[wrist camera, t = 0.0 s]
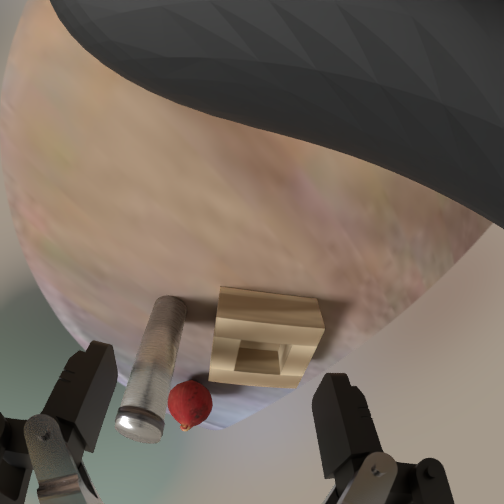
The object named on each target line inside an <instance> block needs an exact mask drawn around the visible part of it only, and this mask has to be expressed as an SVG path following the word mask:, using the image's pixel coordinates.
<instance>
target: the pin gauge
mask: <svg viewBox="0 0 504 504" xmlns="http://www.w3.org/2000/svg"><path fill="white" fill-rule="evenodd" d="M186 314H187V308H186V306H185V304H184V303H183V302H182V301H181V300H180V299H178V298H176V297H173V296H162V297H160V298H158V299H157V300H156V302H155V304H154V307H153V310H152V312H151V315H150V318H149V321H148V323H147V326H146V329H145V332H144V335H143V338H142V340H141V343H140V346H139V349H138V352H137V355H136V358H135V361H134V364H133V367H132V370H131V374H130V377H129V380H128V383H127V386H126V390H125V393H124V396H123V400H122V403H121V406H120V408H119V409H118V412H117V415H116V419H115V423H116V424H115V429H116V430H117V431H118V432H119V433H120V434H122V435H123V436H125V437H127V438H130V439H132V440H135V441H138V442H142V443H158V442H159V441H160V439H161V437H162V435H163V430H164V424H165V423H164V417H165V412H166V407H167V401H168V396H169V391H170V386H171V381H172V377H173V372H174V367H175V362H176V358H177V353H178V349H179V344H180V340H181V335H182V331H183V326H184V322H185V318H186Z"/></svg>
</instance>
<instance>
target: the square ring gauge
mask: <svg viewBox="0 0 504 504" xmlns="http://www.w3.org/2000/svg"><path fill="white" fill-rule="evenodd" d="M324 331H325V326H324V322H323V319H322V315H321V312H320V308H319V305H318V301H317V299H316V298H307V297H298V296H290V295H281V294H273V293H265V292H257V291H250V290H242V289H235V288H228V287H221V286H220V293H219V300H218V307H217V314H216V322H215V329H214V337H213V345H212V353H211V361H210V371H209V380H208V381H212V382H220V383H229V384H238V385H249V386H261V387H276V388H297V386H298V384H299V382H300V380H301V378H302V376H303V374H304V372H305V370H306V368H307V366H308V364H309V362H310V360H311V358H312V356H313V354H314V352H315V350H316V348H317V346H318V343H319V341H320V339H321V337H322V335H323V333H324Z"/></svg>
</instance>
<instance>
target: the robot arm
mask: <svg viewBox="0 0 504 504" xmlns="http://www.w3.org/2000/svg"><path fill="white" fill-rule="evenodd" d="M50 2H51V4H52V6H53V8H54V10H55V12H56V14H57V16H58V17H59V19H60V21H61V22H62V23H63V25H64V26H65V27H66V29H67V30H68V31H69V33H70V34H71V35H72V36H73V37H74V38H75V39H76V40H77V41H78V43H79V44H80V45H81V46H82V47H83V48H84V49H85V50H86V51H88V52H89V53H90V54H91V55H93V56H94V57H95V58H96V59H98V60H99V61H100V62H101V63H103V64H104V65H105V66H107V67H108V68H110V69H111V70H113V71H115V72H116V73H118V74H119V75H121V76H122V77H124V78H125V79H127V80H129V81H131V82H133V83H135V84H137V85H139V86H141V87H142V88H144V89H146V90H148V91H150V92H152V93H155V94H157V95H159V96H162V97H164V98H166V99H169V100H171V101H173V102H175V103H178V104H181V105H184V106H187V107H189V108H192V109H195V110H198V111H201V112H204V113H206V114H209V115H212V116H216V117H219V118H223V119H227V120H230V121H234V122H237V123H241V124H244V125H247V126H251V127H254V128H258V129H262V130H266V131H270V132H274V133H277V134H281V135H285V136H288V137H292V138H296V139H299V140H303V141H306V142H310V143H313V144H316V145H320V146H323V147H326V148H329V149H333V150H336V151H339V152H342V153H345V154H348V155H351V156H354V157H356V158H359V159H362V160H365V161H367V162H370V163H373V164H375V165H378V166H380V167H383V168H385V169H388V170H390V171H393V172H395V173H397V174H400V175H402V176H404V177H407V178H409V179H411V180H413V181H416V182H418V183H420V184H422V185H424V186H426V187H428V188H430V189H433V190H435V191H437V192H439V193H441V194H443V195H445V196H447V197H449V198H450V199H452V200H454V201H456V202H458V203H460V204H462V205H464V206H465V207H467V208H469V209H471V210H473V211H474V212H476V213H478V214H480V215H481V216H483V217H485V218H487V219H488V220H490V221H492V222H493V223H495V224H497V225H498V226H500V227H501V228H503V229H504V0H50ZM117 378H118V370H117V365H116V360H115V355H114V350H113V346H112V345H111V344H106V343H102V342H98V341H94V340H93V341H92V342H91V343H90V345H89V347H88V349H87V350H86V352H83V351H78V352H77V353H75V354H74V355H73V356H72V357H70V358H69V360H68V362H67V364H66V366H65V367H64V371H62V373H61V375H60V377H59V380H58V381H57V383H56V385H55V387H54V389H53V391H52V393H51V395H50V397H49V399H48V401H47V403H46V405H45V407H44V409H43V411H42V412H41V413H40V414H37V415H34V416H32V417H30V418H29V419H28V420H19V419H11V418H5V417H4V416H3V415H2V414H1V412H0V504H24V502H25V497H26V493H27V489H28V485H29V481H30V477H31V473H32V470H34V471H35V474H36V478H37V480H38V484H39V488H38V489H37V496H38V499H39V502H40V504H104V503H103V502H102V500H101V498H100V497H99V495H98V493H97V491H96V489H95V487H94V485H93V483H92V481H91V478H90V476H89V474H88V472H87V470H86V468H85V466H84V463H83V461H82V456H83V453H84V450H85V451H88V452H91V453H93V452H94V449H95V445H96V442H97V439H98V436H99V433H100V430H101V427H102V424H103V421H104V418H105V415H106V412H107V409H108V406H109V403H110V401H111V397H112V395H113V392H114V389H115V387H116V383H117ZM312 412H313V417H314V423H315V428H316V433H317V439H318V444H319V450H320V455H321V461H322V466H323V472H324V477H325V479H330V478H335V485H334V486H333V488H332V489H331V491H330V492H329V494H328V496H327V497H326V499H325V500H324V502H323V503H322V504H454V500H453V497H452V493H451V490H450V486H449V483H448V480H447V476H446V473H445V470H444V467H443V465H442V464H441V463H440V462H439V461H438V460H436V459H434V458H426V459H423V460H422V461H421V462H419V463H418V464H409V463H400V462H396V461H395V460H394V459H393V458H392V457H391V456H390V455H388V454H386V453H384V452H383V450H382V447H381V445H380V441H379V438H378V435H377V432H376V429H375V426H374V423H373V420H372V418H371V414H370V411H369V409H368V405H367V402H366V399H365V396H364V395H363V393H362V392H361V391H360V390H359V389H358V388H357V386H351V385H350V382H349V379H348V376H347V374H345V373H326V374H325V375H324V377H323V379H322V381H321V383H320V385H319V387H318V389H317V390H316V392H315V394H314V397H313V400H312Z"/></svg>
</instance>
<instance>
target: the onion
mask: <svg viewBox="0 0 504 504" xmlns="http://www.w3.org/2000/svg"><path fill="white" fill-rule="evenodd" d="M212 406H213V404H212V398H211V394H210V392H209V390H207V389H206V388H205V387H204V386H203V385H202V384H200V383H198V382H196V381H194V380H189V381H186V382H183V383H180V384H177V385H176V386H175V387H174V388H173V389H172V390H171V391H170V393H169V396H168V408H169V411H170V413H171V415H172V416H173V417H174V418H175V420H177V421H178V422H179V423H180V424H181V426H180V428H181V430H182V431H188V430H189V429H191V428H192V427H193V426H196V425H198V424H200V423H202V422H203V421H204V420H206V419H207V417H208V416H209V414H210V412H211V410H212Z"/></svg>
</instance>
